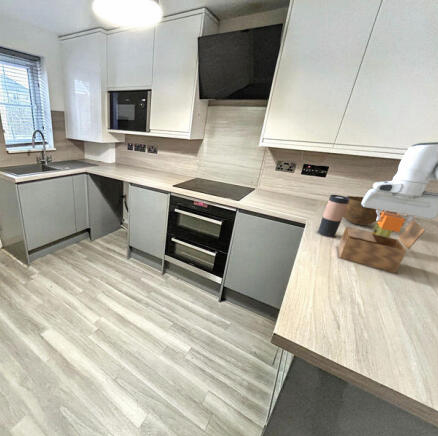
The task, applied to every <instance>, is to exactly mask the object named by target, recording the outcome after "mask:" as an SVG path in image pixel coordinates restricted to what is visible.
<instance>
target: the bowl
mask: <svg viewBox="0 0 438 436" xmlns="http://www.w3.org/2000/svg"><path fill="white" fill-rule="evenodd" d="M346 197H348V198H349V202H348V204H347V207H346V210H345V212H344V215H343V219H344V220H346V221H348V222H350V223H352V224H355V225H359V226H366V225H367V226H368V225H372V224H374V223H377V221H376V219H377V213H376V210H377V209H372V208H367V207H363V206H362V204H361V202H362V200H363V198H364V196H355V195H354V196H353V195H347V196H346ZM382 212H383V211H382ZM381 214H382V213H380V216H381Z"/></svg>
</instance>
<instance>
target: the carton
mask: <svg viewBox="0 0 438 436" xmlns="http://www.w3.org/2000/svg"><path fill="white" fill-rule="evenodd" d="M372 232H373V231H370V230H365V229H361V228H357V227H351V226H345V229H344V231H343V234H342V235H341V238H340V241H339V244H338V246H337V249H338V257H339V259H342V260H346V261H350V262H353V263H357V264H360V265H363V266H368V267H371V268H375V269H377V270H382V271H385V272H389V273H392V274H396V273H397V271H398V269H399V267H400V265H401V263H402V261H403V260H404V258H405V256H406V253H408V251H407V249H406V247H405V246H404V245H403V243H402V242H401V241H400V239H399V238H398V239H397V238H392V237H384V236H380V235H375V234H372Z"/></svg>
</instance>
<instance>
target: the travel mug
mask: <svg viewBox="0 0 438 436" xmlns="http://www.w3.org/2000/svg"><path fill="white" fill-rule="evenodd" d="M348 202H349V198H348V197H347V196H345V195H340V194H330V195H329V199H328V201H327V203H326V206H325V209H324V212H323V215H322V217H321V220H320V224H319V227H318V230H317V233H318V234H319V235H321V236H323V237H327V238H334V237H335V236H336V234H337V232H338V229H339V227H340V225H341V222H342V220H343V219H344V217H343V215H344V212H345V210H346V207H347V204H348Z"/></svg>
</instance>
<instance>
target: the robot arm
mask: <svg viewBox="0 0 438 436" xmlns="http://www.w3.org/2000/svg"><path fill="white" fill-rule="evenodd" d="M430 181H436V182H438V141H432V142H431V141H430V142H429V141H428V142H420V143H419V142H418V143H415V144H412V145H411V146H410V147H408V149H407V150H406V152H405V153H404V154H403V156H402V158H401V160H400V162H399V164H398V167H397V172H396V174H395V175H394V176H393V177H392V180H387V181H386V180H385V181H376V182H374V183H373V184H372V188H370V189H369V190H368V191H367V192H366V193H365V195H364V196H363V197H364V198H363V200H362V202H361V204H362V206H363V207H367V208H372V209H377V210H376V213H377V219H376V222H377V221H380V222H382V220H383V217H381V216H380V213H382V211H384V212H386V211H389V212H394V213H397V214H400V215H405V217H406V218H404V219H405V221H404V223H403V225H402V227H405V226H406V223H408V222H411V221H413V220H414V217H416V218H422V219H426V220H433V219H435V218H437V216H438V192H434V191H427V190H426V188H427V186H428V184H429V182H430Z"/></svg>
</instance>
